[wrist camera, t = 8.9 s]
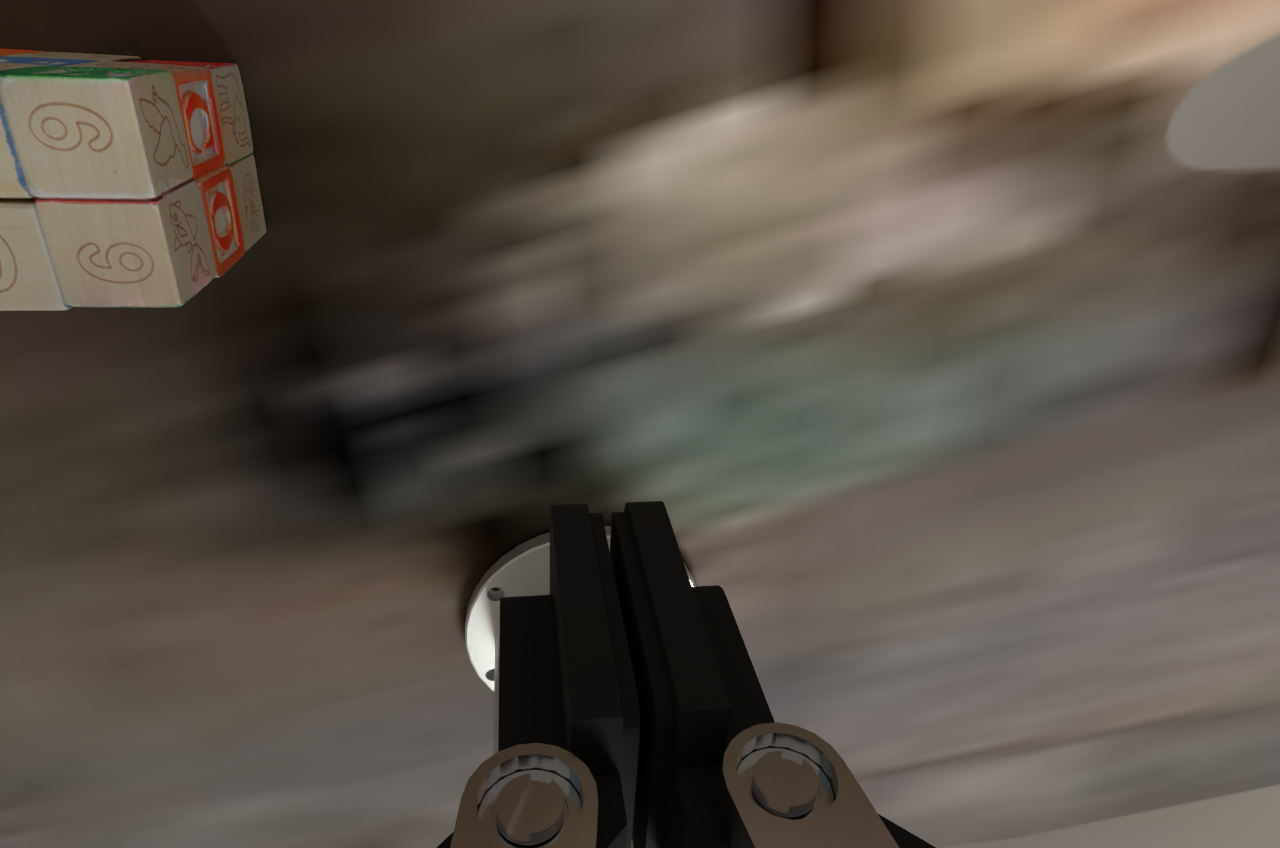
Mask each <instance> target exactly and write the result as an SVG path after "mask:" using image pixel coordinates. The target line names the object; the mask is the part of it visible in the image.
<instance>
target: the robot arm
mask: <svg viewBox="0 0 1280 848" xmlns="http://www.w3.org/2000/svg"><path fill="white" fill-rule="evenodd" d="M465 646H466V649H467V653H468V657H469V661H470V663H471V664H472V666H473V668H474V670H475V671H476V673H477V675H478V677H479V678H480V679H481V680H482V681H483V682H484V683H485V684H486V685H487V686H488V687H489V688H490V689H491V690H492V691H493V692H494V755H493V756H491V757H490V758H489V759H487V760H486V761H484V762H483V763H482V764H481V765H480V766H479V767H478V768H477V770H476V771H475V772H474V773H473V774H472V776H471V777H470V778H469V780H468V782H467V785H466V787H465V790H464V792H463V795H462V798H461V802H460V806H459V811H458V815H457V819H456V824H455V828H454V832H453V833H452V834H451V835H450V836H449V837H447V838H446V839H445V840H444V841H443V842H442V843H441V844H440V845H439V846H438V847H437V848H935V847H934V846H932V845H930V844H929V843H927V842H925V841H923V840H922V839H920V838H918V837H917V836H915V835H913V834H911V833H910V832H908V831H906V830H905V829H903V828H901V827H900V826H898V825H896V824H894V823H893V822H891V821H889V820H888V819H886V818H884V817H882V816H881V815H879V814H878V813H877V812H876V810H875V809H874V807H873V806H872V804H871V802H870V801H869V799H868V798H867V796H866V795H865V793H864V792H863V790H862V788H861V787H860V785H859V784H858V782H857V781H856V779H855V777H854V776H853V774H852V773H851V771H850V770H849V768H848V767H847V765H846V763H845V762H844V760H843V759H842V758H841V757H840V755H839V754H838V753H837V752H836V751H835V750H834V748H833V747H832V746H831V745H830V744H828V743H827V742H826V741H824V740H823V739H822V738H820V737H819V736H817V735H816V734H815V733H812V732H810V731H808V730H805V729H803V728H800V727H798V726H795V725H789V724H783V723H775V722H774V719H773V717H772V714H771V712H770V709H769V706H768V704H767V701H766V699H765V696H764V693H763V691H762V688H761V686H760V683H759V680H758V678H757V675H756V673H755V670H754V667H753V665H752V662H751V660H750V657H749V654H748V652H747V649H746V647H745V644H744V642H743V639H742V636H741V634H740V631H739V629H738V626H737V623H736V621H735V618H734V616H733V613H732V610H731V608H730V605H729V603H728V600H727V597H726V595H725V593H724V591H723V589H722V588H721V587H720V586H700V587H697V586H696V584H695V581H694V578H693V576H692V574H691V573H690V571H689V570H688V568H687V566H686V565H685V563H684V562H683V559H682V556H681V553H680V550H679V547H678V544H677V541H676V538H675V535H674V532H673V529H672V526H671V523H670V520H669V517H668V514H667V511H666V508H665V505H664V503H663V502H662V501H655V502H628V503H626V504H625V509H624V512H618V513H612V518H611V526H604V521H603V516H602V513H592V514H589V510H588V505H587V504H573V505H550V532H549V533H545V534H542V535H539V536H537V537H535V538H533V539H531V540H528V541H526V542H524V543H522V544H520V545H518V546H517V547H515V548H514V549H512V550H511V551H510V552H508V553H507V554H505V555H504V556H502V557H501V558H500V559H499V560H498V561H497V562H496V563H495V564H494V565H493V566H492V567H491V568H490V569H489V570H488V571H487V572H486V573H485V574H484V576H483V577H482V579H481V580H480V582H479V583H478V585H477V586H476V588H475V589H474V591H473V594H472V596H471V599H470V602H469V604H468V607H467V615H466V622H465Z"/></svg>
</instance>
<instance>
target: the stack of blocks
mask: <svg viewBox="0 0 1280 848" xmlns="http://www.w3.org/2000/svg"><path fill="white" fill-rule="evenodd" d="M266 230H267V229H266V224H265V219H264V213H263V207H262V201H261V195H260V189H259V183H258V177H257V171H256V164H255V159H254V156H253V143H252V136H251V130H250V123H249V118H248V112H247V107H246V101H245V96H244V91H243V86H242V81H241V77H240V72H239V68H238V66H237V64H234V63H209V62H187V61H161V60H143V59H141V58H140V57H139V56H122V55H104V54H86V53H67V52H44V51H35V50H19V49H1V48H0V311H65V310H68V309H70V308H72V307H132V308H139V307H152V308H163V307H181V306H183V305H184V304H185V303H186V302H188V301H189V300H190V299H191V298H193V297H194V296H195V295H196V294H197V293H198V292H199V291H200V290H201V289H202V288H203V287H205V286H206V285H207V284H209V283H210V281H211V280H212V279H214V278H219V277H221V276H222V275H223V274H224V273H225V272H227V271H228V270H229V269H230V268H231V267H232V266H233V265H234V264H235V263H236V262H237V261H238V260H239V259H240V258H241V257H243V255H244V253H245V252H247V251H248V250H249V249H250V248H251V247H252V246H253V245H254V244H255V243H256V242H257V241H258V240H259V239H260V238H261V237H262V236H263V235H264V234H265V233H266Z"/></svg>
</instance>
